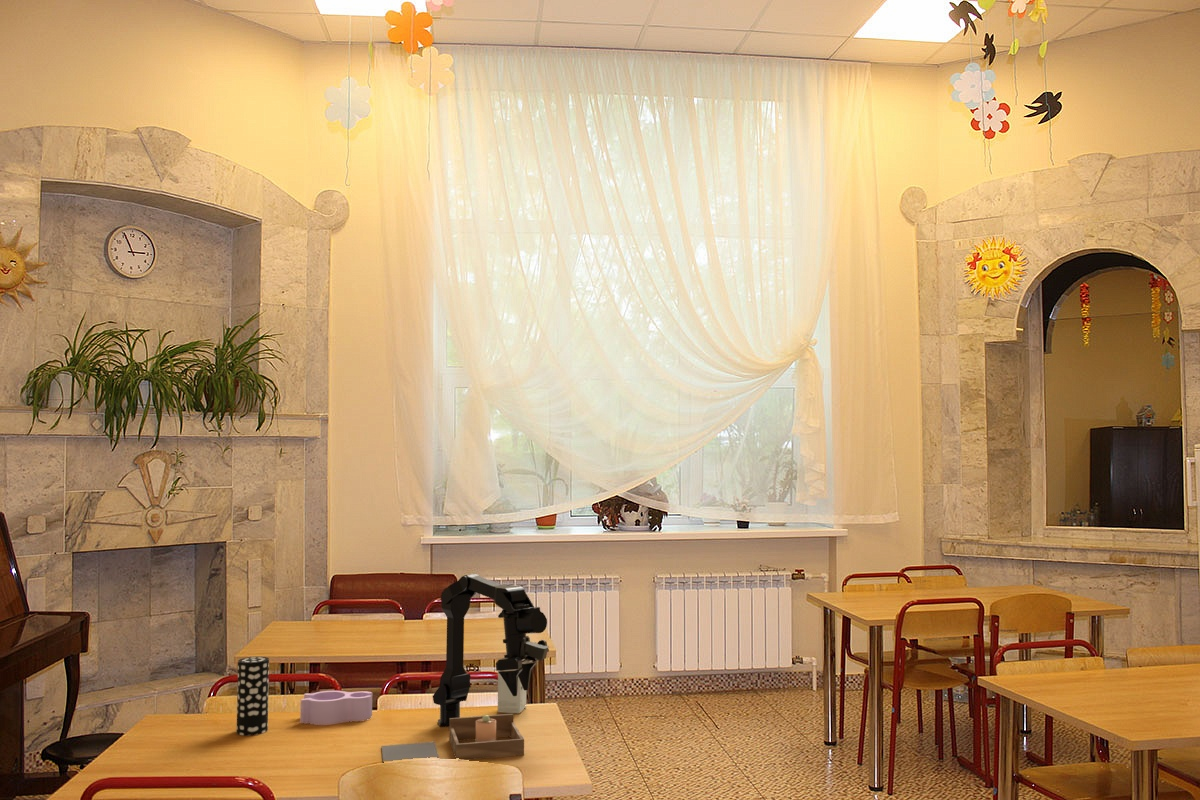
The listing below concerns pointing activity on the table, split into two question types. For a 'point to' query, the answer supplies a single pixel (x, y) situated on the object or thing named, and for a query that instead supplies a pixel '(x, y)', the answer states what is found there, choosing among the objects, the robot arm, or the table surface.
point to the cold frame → (489, 749)
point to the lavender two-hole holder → (335, 707)
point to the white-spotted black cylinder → (252, 695)
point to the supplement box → (510, 697)
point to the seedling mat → (409, 751)
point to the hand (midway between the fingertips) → (520, 693)
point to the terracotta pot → (485, 729)
